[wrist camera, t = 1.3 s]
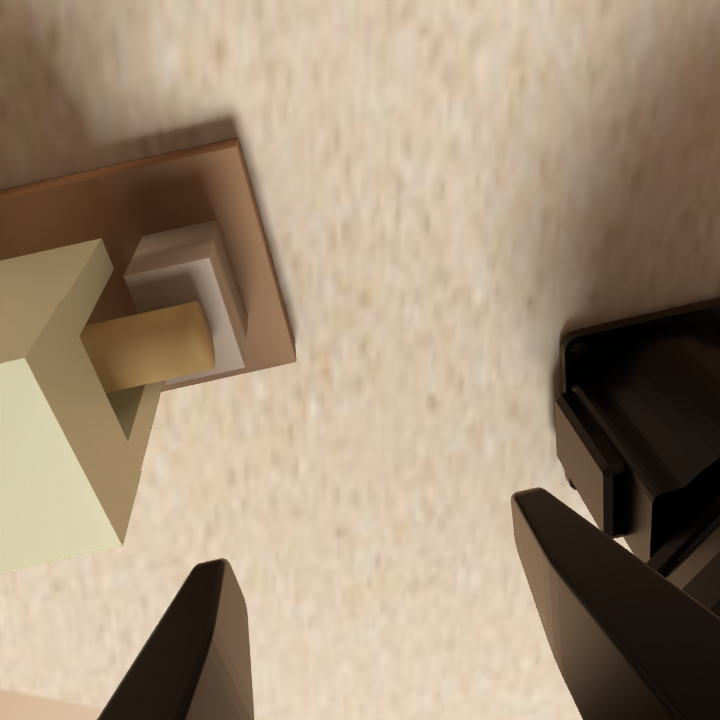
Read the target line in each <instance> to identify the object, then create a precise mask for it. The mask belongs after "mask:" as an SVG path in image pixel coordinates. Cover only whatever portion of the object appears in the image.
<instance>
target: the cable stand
mask: <svg viewBox="0 0 720 720" xmlns="http://www.w3.org/2000/svg"><path fill="white" fill-rule="evenodd" d="M100 238H102V241H103V243H104V246H105V248H106V251H107V253H108V255H109V258H110V260H111V263H112V265H113V268H114V270H113V272H112V274H111V276H110V278H109V280H108V282H107V284H106V285H105V287H104V289H103V291H102V293H101V295H100V297H99V299H98V301H97V303H96V305H95V307H94V309H93V311H92V313H91V315H90V317H89V319H88V320H87V322H86V324H85V326H84V328H83V330H82V332H81V334H80V336H79V337H80V339H81V341H82V344H83V346H84V348H85V350H86V352H87V354H88V357H89V359H90V361H91V363H92V365H93V367H94V370H95V372H96V374H97V376H98V378H99V380H100V383H101V385H102V387H103V389H104V391H105V393H109V392H113V391H118V390H122V389H127V388H131V387H136V386H140V385H145V384H149V383H154V382H158V381H160V383H161V386H162V389H161V392H163V391H167V390H172V389H176V388H181V387H185V386H190V385H194V384H199V383H203V382H208V381H212V380H217V379H221V378H226V377H230V376H235V375H239V374H244V373H248V372H253V371H257V370H262V369H266V368H271V367H275V366H280V365H284V364H289V363H293V362H296V349H295V343H294V339H293V335H292V332H291V328H290V325H289V321H288V317H287V314H286V310H285V306H284V303H283V299H282V295H281V292H280V288H279V285H278V281H277V277H276V274H275V270H274V266H273V263H272V259H271V255H270V252H269V248H268V245H267V241H266V237H265V234H264V230H263V226H262V223H261V219H260V215H259V212H258V208H257V205H256V201H255V197H254V194H253V190H252V186H251V183H250V179H249V175H248V172H247V168H246V165H245V161H244V157H243V154H242V150H241V146H240V143H239V139H238V138H235V139H230V140H226V141H221V142H216V143H212V144H207V145H203V146H198V147H194V148H189V149H185V150H180V151H176V152H171V153H167V154H162V155H158V156H153V157H149V158H144V159H140V160H135V161H131V162H126V163H122V164H117V165H113V166H108V167H104V168H99V169H95V170H90V171H86V172H81V173H76V174H72V175H67V176H63V177H58V178H54V179H49V180H45V181H40V182H36V183H31V184H27V185H22V186H18V187H13V188H9V189H4V190H0V261H1V260H6V259H10V258H15V257H19V256H24V255H28V254H33V253H37V252H42V251H46V250H51V249H55V248H60V247H64V246H69V245H73V244H78V243H82V242H87V241H91V240H96V239H100Z"/></svg>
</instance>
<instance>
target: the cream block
mask: <svg viewBox="0 0 720 720" xmlns="http://www.w3.org/2000/svg"><path fill="white" fill-rule="evenodd" d="M113 270H114V268H113V265H112V263H111V260H110V258H109V255H108V253H107V251H106V248H105V246H104V243H103V241H102V238H100V239H96V240H91V241H87V242H82V243H78V244H73V245H69V246H64V247H60V248H55V249H51V250H46V251H42V252H37V253H33V254H28V255H24V256H19V257H15V258H10V259H6V260H1V261H0V574H2V573H6V572H11V571H15V570H20V569H24V568H29V567H33V566H38V565H42V564H47V563H51V562H56V561H60V560H65V559H69V558H74V557H78V556H83V555H87V554H92V553H96V552H100V551H105V550H109V549H114V548H118V547H123V543H124V539H125V535H126V531H127V527H128V523H129V519H130V515H131V511H132V508H133V504H134V500H135V496H136V492H137V488H138V484H139V480H140V476H141V472H142V471H141V467H142V463H143V460H144V456H145V452H146V448H147V444H148V440H149V436H150V432H151V428H152V425H153V421H154V417H155V413H156V409H157V405H158V401H159V397H160V393H161V389H162V386H161V383H160V381H158V382H154V383H149V384H145V385H140V386H136V387H131V388H127V389H122V390H118V391H113V392H109V393H105V391H104V389H103V387H102V385H101V383H100V380H99V378H98V376H97V374H96V372H95V370H94V367H93V365H92V363H91V361H90V359H89V357H88V354H87V352H86V350H85V348H84V346H83V344H82V341H81V339H80V337H79V336H80V334H81V332H82V330H83V328H84V326H85V324H86V322H87V320H88V319H89V317H90V315H91V313H92V311H93V309H94V307H95V305H96V303H97V301H98V299H99V297H100V295H101V293H102V291H103V289H104V287H105V285H106V284H107V282H108V280H109V278H110V276H111V274H112V272H113Z"/></svg>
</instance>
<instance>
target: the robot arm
mask: <svg viewBox="0 0 720 720" xmlns="http://www.w3.org/2000/svg"><path fill="white" fill-rule="evenodd" d="M578 343H582V346H581V347H580V348H579V349H578V350H575V351H572V349H573V347H574V346H575V345H576V344H578ZM560 361H561V385H562V393H559V394H558V396H557V397H556V399H555V401H554V405H555V426H556V446H557V456H558V458H559V460H560V462H561V463H562V465H563V467H564V469H565V476H566V479H567V481H568V483H569V484H570V486H571V487H572V488H573V489H575V490H577V491H578V493H579V494H580V496H581V498H582V500H583V501H584V503H585V505H586V506H587V508H588V510H589V512H590V513H591V515H592V517H593V518H594V520H595V522H596V524H597V525H598V527H599V529H600V530H599V529H598V528H597V527H595V526H594V525H593V524H591V523H590V522H589V521H587V520H586V519H584V518H583V517H582V516H580V515H579V514H578V513H576V512H575V511H574V510H572V509H571V508H569V507H568V506H567V505H565V504H564V503H563V502H561V501H560V500H559V499H557V498H556V497H554V496H553V495H552V494H550V493H549V492H548V491H546V490H545V489H543V488H539V487H538V488H532V489H528V490H524V491H519V492H515V493H514V494H513V495H512V497H511V507H512V517H513V527H514V536H515V542H516V547H517V550H518V554H519V557H520V560H521V563H522V565H523V568H524V571H525V574H526V577H527V580H528V583H529V586H530V589H531V592H532V595H533V598H534V601H535V604H536V607H537V610H538V613H539V616H540V618H541V621H542V624H543V627H544V630H545V633H546V636H547V639H548V642H549V645H550V647H551V650H552V653H553V655H554V658H555V660H556V663H557V665H558V667H559V669H560V672H561V674H562V676H563V678H564V681H565V683H566V685H567V687H568V689H569V691H570V693H571V695H572V697H573V700H574V702H575V704H576V706H577V708H578V710H579V712H580V714H581V716H582V719H583V720H720V298H718V299H714V300H709V301H705V302H700V303H696V304H691V305H687V306H682V307H678V308H673V309H669V310H664V311H660V312H655V313H651V314H646V315H642V316H637V317H633V318H628V319H624V320H619V321H615V322H610V323H606V324H601V325H597V326H592V327H588V328H583V329H579V330H574V331H572V332H569V333H568V334H567V335H565V336H564V338H563V339H562V341H561V344H560ZM619 537H623V538H624V539H625V541H626V543H627V544H628V546H629V547H630V549H631V551H632V552H633V554H632V553H631V552H629V551H628V550H627V549H625V548H624V547H623V546H621V545H620V544H619V543H617V542H616V541H614V540H613V539H614V538H619ZM97 720H254V706H253V691H252V676H251V660H250V645H249V630H248V615H247V608H246V603H245V599H244V596H243V594H242V591H241V589H240V587H239V584H238V582H237V579H236V577H235V575H234V572H233V570H232V567H231V565H230V563H229V562H228V561H227V560H226V559H223V558H221V559H216V560H212V561H207V562H203V563H199V564H197V565H196V566H195V567H194V568H193V569H192V571H191V572H190V574H189V576H188V577H187V579H186V580H185V582H184V583H183V585H182V587H181V588H180V590H179V591H178V593H177V594H176V596H175V598H174V599H173V601H172V602H171V604H170V606H169V607H168V609H167V610H166V612H165V613H164V615H163V617H162V618H161V620H160V621H159V623H158V624H157V626H156V628H155V629H154V631H153V632H152V634H151V635H150V637H149V639H148V640H147V642H146V643H145V645H144V647H143V648H142V650H141V651H140V653H139V654H138V656H137V658H136V659H135V661H134V662H133V664H132V665H131V667H130V669H129V670H128V672H127V673H126V675H125V676H124V678H123V680H122V681H121V683H120V684H119V686H118V688H117V689H116V691H115V692H114V694H113V695H112V697H111V699H110V700H109V702H108V703H107V705H106V706H105V708H104V710H103V711H102V713H101V714H100V716H99V717H98V719H97Z"/></svg>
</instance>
